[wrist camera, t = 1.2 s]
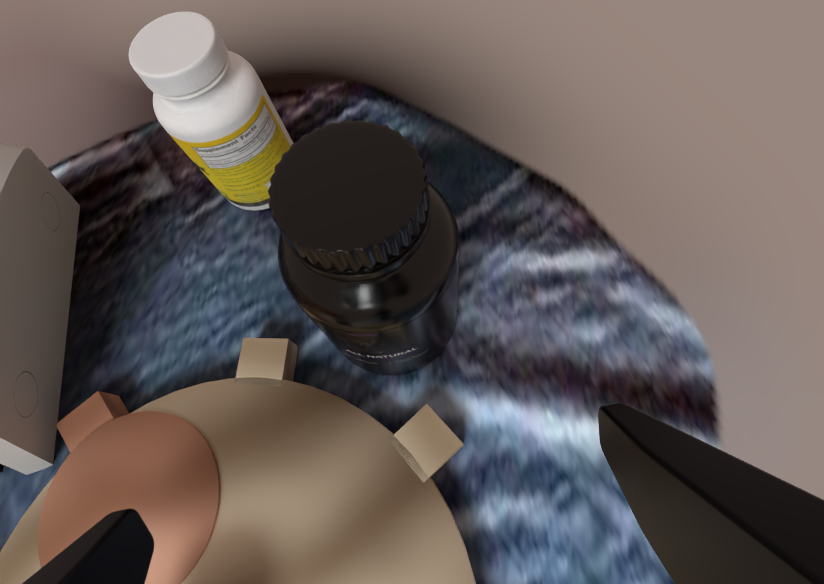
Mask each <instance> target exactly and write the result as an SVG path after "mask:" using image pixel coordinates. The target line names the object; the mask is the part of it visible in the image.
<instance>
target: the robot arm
mask: <svg viewBox="0 0 824 584" xmlns="http://www.w3.org/2000/svg"><path fill="white" fill-rule="evenodd" d="M598 420H599V436H600V444H601V448H602V451H603V453H604V455H605V457H606V459H607V461H608V463H609V465H610V467H611V469H612V471H613V473H614V475H615V478H616V480H617V482H618V484H619V486H620V488H621V490H622V492H623V494H624V496H625V498H626V500H627V502H628V504H629V506H630V508H631V510H632V512H633V514H634V516H635V518H636V520H637V522H638V524H639V526H640V528H641V530H642V531H643V533H644V535H645V536H646V538H647V540H648V541H649V543H650V545H651V546H652V548H653V550H654V551H655V553H656V554H657V556H658V558H659V559H660V561H661V562H662V564H663V565H664V567H665V569H666V570H667V572H668V573H669V575H670V577H671V578H672V580H673V581H674V583H675V584H824V500H823V499H820V498H818V497H816V496H814V495H812V494H810V493H808V492H806V491H804V490H802V489H800V488H798V487H796V486H794V485H792V484H790V483H787V482H785V481H783V480H781V479H779V478H777V477H775V476H773V475H771V474H769V473H767V472H765V471H763V470H761V469H758V468H757V467H754V466H752V465H750V464H748V463H746V462H744V461H742V460H740V459H738V458H736V457H734V456H732V455H730V454H728V453H726V452H724V451H721V450H719V449H717V448H715V447H713V446H711V445H709V444H707V443H705V442H703V441H701V440H699V439H697V438H695V437H693V436H690V435H688V434H686V433H684V432H682V431H680V430H678V429H676V428H674V427H672V426H670V425H668V424H666V423H664V422H662V421H660V420H657V419H655V418H653V417H651V416H649V415H647V414H645V413H643V412H641V411H639V410H637V409H635V408H633V407H631V406H629V405H627V404H624V403H621V402H617V403H612V404H607V405H603V406H601V407H600V408H599V410H598ZM153 552H154V539H153V536H152V534H151V533H150V531H149V529H148V528H147V526H146V524H145V523H144V521H143V519H142V518H141V516H140V514H139V513H138V512H137V511H136V510H135V509H131V508H129V509H124V510H119V511H115V512H112V513H109V514H108V515H106V516H105V517H104V518H103V519H101V520H100V521H99V522H98V523H96V524H95V525H94V526H93V527H91V528H90V529H89V530H88V531H86V532H85V533H84V534H83V535H81V536H80V537H79V538H78V539H77V540H75V541H74V542H73V543H72V544H70V545H69V546H68V547H67V548H65V549H64V550H63V551H62V552H60V553H59V554H58V555H57V556H55V557H54V558H53V559H52V560H50V561H49V562H48V563H47V564H46V565H44V566H43V567H42V568H41V569H39V570H38V571H37V572H36V573H34V574H33V575H32V576H31V577H29V578H28V579H27V580H26V581H24V582H23V583H22V584H145V581H146V577H147V574H148V570H149V566H150V563H151V559H152V555H153Z"/></svg>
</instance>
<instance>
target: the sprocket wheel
mask: <svg viewBox="0 0 824 584" xmlns="http://www.w3.org/2000/svg"><path fill="white" fill-rule="evenodd" d="M297 353H298V346H297V345H296V344H295V343H293V342H292V341H291V340H289V339H278V338H243V342H242V347H241V352H240V357H239V363H238V368H237V373H236V378H229V379H223V380H217V381H211V382H206V383H201V384H198V385H194V386H191V387H188V388H184V389H181V390H178V391H175V392H172V393H170V394H168V395H165V396H163V397H161V398H159V399H156V400H154V401H152V402H149V403H147V404H145V405H144V406H142V407H140V408H139V409H137V410H135V411H133V412H132V413H130V414H129V412H128V410H127V409H126V407H125V405H124V404H123V402H122V400H121V399H120V397H119V396H118V395H113V394H109V393H105V392H100V391H97V392H96V393H95V394H93V395H92V396H91V397H90V398H88V399H87V400H86V401H85V402H83V403H82V404H81V405H80V406H78V407H77V408H76V409H74V410H73V411H72V412H71V413H69V414H68V415H67V416H66V417H64V418H63V419H62V420H61V421H59V422H58V423H57V424H56V426H57V428H58V430H59V432H60V434H61V436H62V437H63V439H64V441H65V443H66V445H67V447H68V449H69V451H70V454H69V456H68V457H67V458H66V460H65V461H64V462H63V464H62V465H61V467H60V468H59V470H58V472H57V473H56V475H55V477H54V478H53V479H52V480H51V481H50V482H49V483H48V484H47V485H46V486H45V487H44V489H43V490H42V491H41V493H40V494H39V495H38V497H37V498H36V499H35V501H34V502H33V503H32V505H31V506H30V507H29V509H28V510H27V511H26V512H25V514H24V515H23V516H22V518H21V520H20V521H19V523H18V524H17V526H16V528H15V529H14V531H13V532H12V534H11V536H10V537H9V539H8V540H7V542H6V543H5V545H4V547H3V548H2V550H1V552H0V584H22V583H23V582H24V581H26V580H27V579H28V578H29V577H31V576H32V575H33V574H34V573H36V572H37V571H38V570H39V569H41V568H42V567H43V566H44V565H46V564H47V563H48V562H49V561H50V560H52V559H53V558H54V557H55V556H57V555H58V554H59V553H60V552H62V551H63V550H64V549H65V548H67V547H68V546H69V545H70V544H72V543H73V542H74V541H75V540H77V539H78V538H79V537H80V536H81V535H83V534H84V533H85V532H86V531H88V530H89V529H90V528H91V527H93V526H94V525H95V524H96V523H98V522H99V521H100V520H101V519H103V518H104V517H105V516H106V515H108V514H109V513H112V512H115V511H119V510H124V509H129V508H131V509H135V510H136V511H137V512H138V513H139V514H140V516H141V518H142V519H143V521H144V523H145V524H146V526H147V528H148V529H149V531H150V533H151V534H152V536H153V539H154V552H153V555H152V559H151V563H150V566H149V570H148V574H147V577H146V581H145V584H476V581H475V577H474V574H473V570H472V567H471V563H470V560H469V557H468V553H467V550H466V546H465V543H464V541H463V538H462V536H461V534H460V531H459V529H458V526H457V524H456V522H455V519H454V517H453V514H452V512H451V510H450V508H449V507H448V505H447V503H446V501H445V499H444V498H443V496H442V494H441V492H440V491H439V489H438V487H437V485H436V484H435V482H434V480H433V479H432V478H431V477H432V476H433V475H434V474H435V473H436V472H437V471H438V470H439V469H440V468H441V467H442V466H443V465H444V464H445V463H446V462H447V461H448V460H449V459H450V458H451V457H452V456H453V455H454V454H455V453H456V452H457V451H458V450H459V449H460V448H461V447H462V446H463V443H462V442H461V441H460V440H459V438H458V437H457V436H456V435H455V434H454V433H453V432H452V431H451V430H450V429H449V427H448V426H447V425H446V424H445V423H444V422H443V421H442V420H441V419H440V418H439V416H438V415H437V414H436V413H435V412H434V411H433V410H432V409H431V408H430V406H429V405H428V404H426V405H425V406H424V407H423V408H421V409H420V410H419V411H418V412H417V413H416V414H415V415H414V416H413V417H412V418H411V419H410V420H409V421H408V422H407V423H406V424H405V425H404V426H403V427H401V428H400V429H399V430H398V431H397V432H396V433H395V434H393V433H392V432H391V431H390V430H388V429H387V428H386V427H385V426H383V425H382V424H381V423H379V422H378V421H377V420H376V419H374V418H373V417H372V416H370V415H369V414H367V413H366V412H364V411H362V410H361V409H359V408H357V407H355V406H354V405H352V404H350V403H349V402H347V401H345V400H343V399H342V398H340V397H338V396H335V395H333V394H330V393H328V392H325V391H323V390H320V389H318V388H315V387H312V386H308V385H304V384H300V383H296V382H293V379H294V372H295V366H296V359H297Z"/></svg>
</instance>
